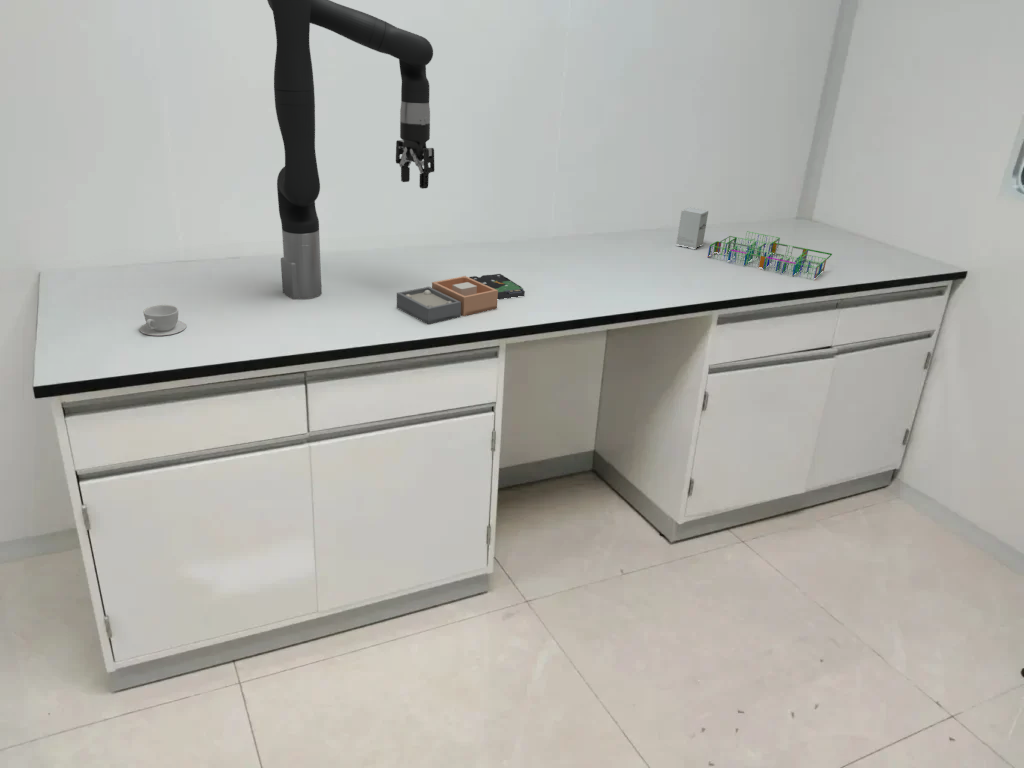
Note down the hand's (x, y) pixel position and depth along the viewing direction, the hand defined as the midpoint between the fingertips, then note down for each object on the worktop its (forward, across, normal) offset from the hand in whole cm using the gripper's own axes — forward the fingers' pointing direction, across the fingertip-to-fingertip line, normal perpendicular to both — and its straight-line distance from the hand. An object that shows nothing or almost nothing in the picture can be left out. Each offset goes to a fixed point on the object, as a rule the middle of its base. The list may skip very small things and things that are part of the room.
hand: (414, 184), depth 213 cm
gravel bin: (+28, +18, -8) cm, 35 cm away
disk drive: (+29, +14, +18) cm, 37 cm away
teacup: (+29, -4, -66) cm, 73 cm away
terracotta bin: (+28, +18, +4) cm, 34 cm away
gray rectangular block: (+27, +18, +4) cm, 33 cm away
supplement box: (+28, +11, +108) cm, 112 cm away
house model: (+29, +36, +120) cm, 129 cm away
